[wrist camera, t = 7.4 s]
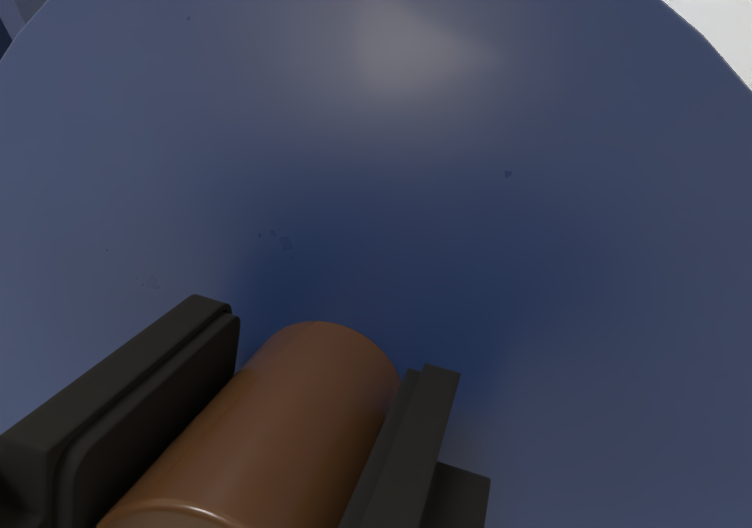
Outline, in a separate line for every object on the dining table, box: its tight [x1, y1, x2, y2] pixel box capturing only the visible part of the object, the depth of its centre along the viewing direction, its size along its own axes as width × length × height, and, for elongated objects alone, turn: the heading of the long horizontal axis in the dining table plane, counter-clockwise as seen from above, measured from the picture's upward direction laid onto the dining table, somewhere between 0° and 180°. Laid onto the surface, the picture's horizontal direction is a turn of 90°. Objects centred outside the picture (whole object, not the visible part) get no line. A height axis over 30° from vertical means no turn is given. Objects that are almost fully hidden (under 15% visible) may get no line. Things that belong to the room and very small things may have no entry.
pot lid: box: [0, 0, 752, 528], centre depth 10 cm, size 15×15×6 cm
